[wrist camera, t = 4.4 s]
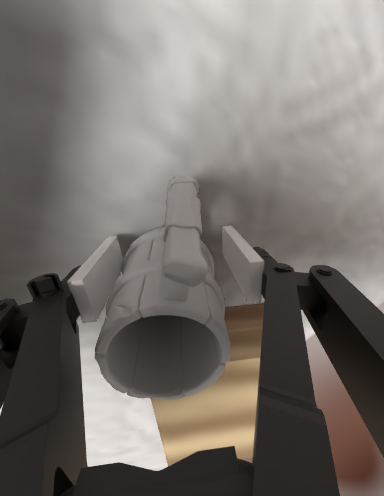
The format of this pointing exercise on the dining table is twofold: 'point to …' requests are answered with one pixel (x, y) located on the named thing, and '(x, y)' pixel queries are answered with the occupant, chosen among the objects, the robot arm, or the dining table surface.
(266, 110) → the dining table surface
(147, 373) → the mug
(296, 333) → the robot arm
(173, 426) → the wooden block
